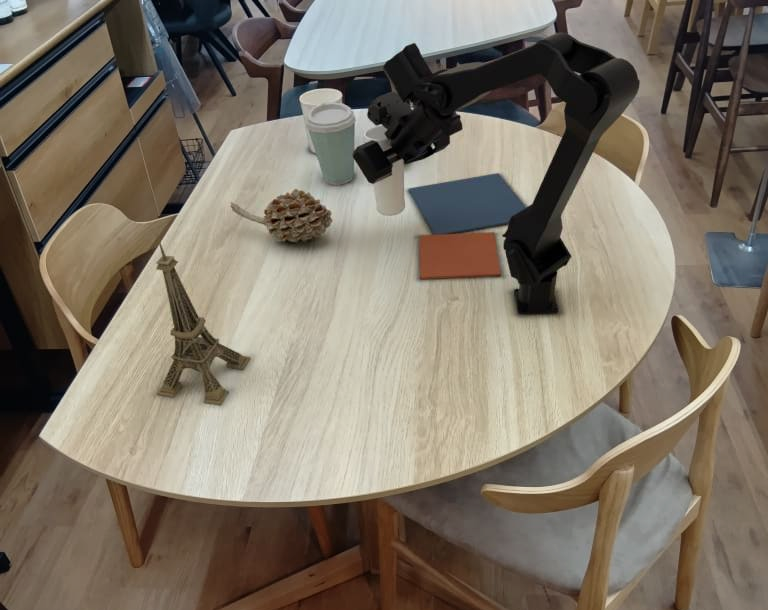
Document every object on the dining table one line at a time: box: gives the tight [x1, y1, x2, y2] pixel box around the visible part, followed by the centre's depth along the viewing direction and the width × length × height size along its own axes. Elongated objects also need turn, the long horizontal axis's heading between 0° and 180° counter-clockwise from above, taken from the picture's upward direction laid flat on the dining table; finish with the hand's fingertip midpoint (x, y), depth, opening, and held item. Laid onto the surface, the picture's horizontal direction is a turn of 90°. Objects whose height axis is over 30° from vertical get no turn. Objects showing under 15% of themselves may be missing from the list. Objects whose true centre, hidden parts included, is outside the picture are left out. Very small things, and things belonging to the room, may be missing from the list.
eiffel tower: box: [155, 231, 251, 406], centre depth 93 cm, size 11×11×25 cm
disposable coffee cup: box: [305, 102, 357, 186], centre depth 142 cm, size 11×11×15 cm
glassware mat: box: [408, 172, 527, 235], centre depth 135 cm, size 20×20×1 cm
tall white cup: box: [363, 124, 406, 217], centre depth 121 cm, size 7×7×15 cm
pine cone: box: [229, 188, 333, 243], centre depth 127 cm, size 22×10×10 cm, turn 73°
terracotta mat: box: [419, 231, 501, 280], centre depth 122 cm, size 14×14×1 cm
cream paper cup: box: [298, 88, 343, 154], centre depth 156 cm, size 10×10×12 cm
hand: (382, 170), depth 122 cm, fingers closed on tall white cup, 6 cm apart
